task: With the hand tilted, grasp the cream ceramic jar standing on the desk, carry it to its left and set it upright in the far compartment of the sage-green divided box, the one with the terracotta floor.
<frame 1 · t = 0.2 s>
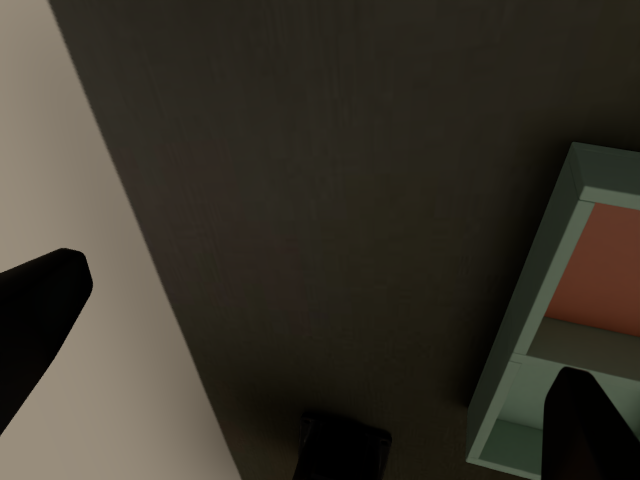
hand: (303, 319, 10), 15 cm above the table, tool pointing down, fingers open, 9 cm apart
divided box: (607, 324, 26), on the table
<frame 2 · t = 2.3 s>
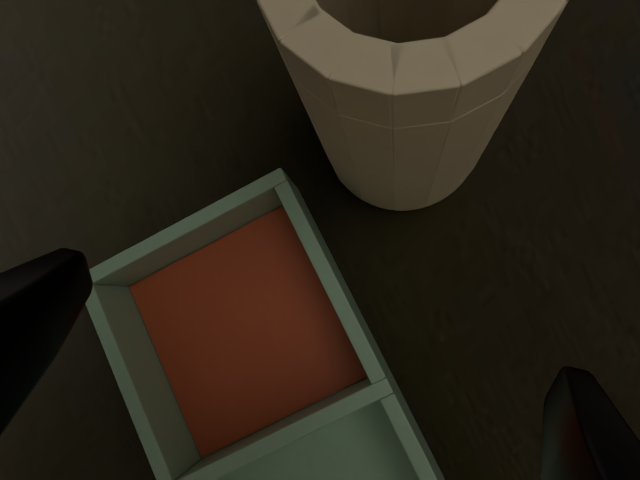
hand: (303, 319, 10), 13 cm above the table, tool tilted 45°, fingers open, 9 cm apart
divided box: (293, 420, 23), on the table
jar: (402, 136, 23), on the table
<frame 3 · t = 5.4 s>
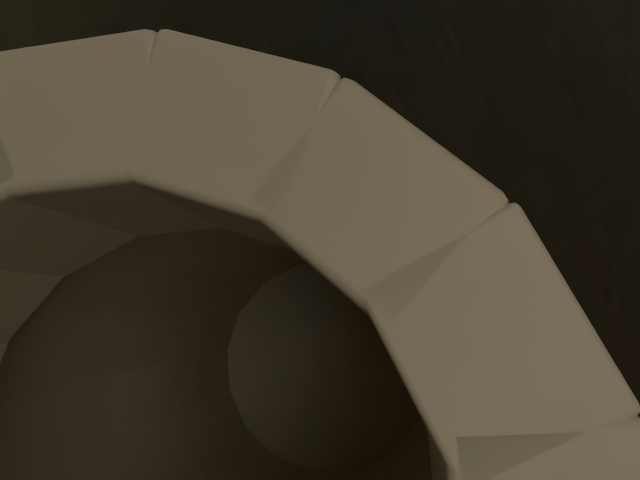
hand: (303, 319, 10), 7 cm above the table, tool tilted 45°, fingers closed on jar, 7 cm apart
jar: (329, 361, 16), on the table, touching gripper
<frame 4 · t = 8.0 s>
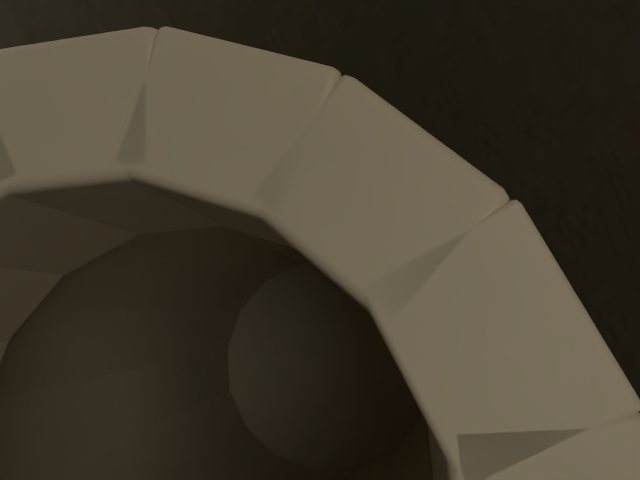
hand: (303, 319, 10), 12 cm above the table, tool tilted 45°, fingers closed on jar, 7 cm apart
jar: (329, 360, 16), point 6 cm above the table, touching gripper
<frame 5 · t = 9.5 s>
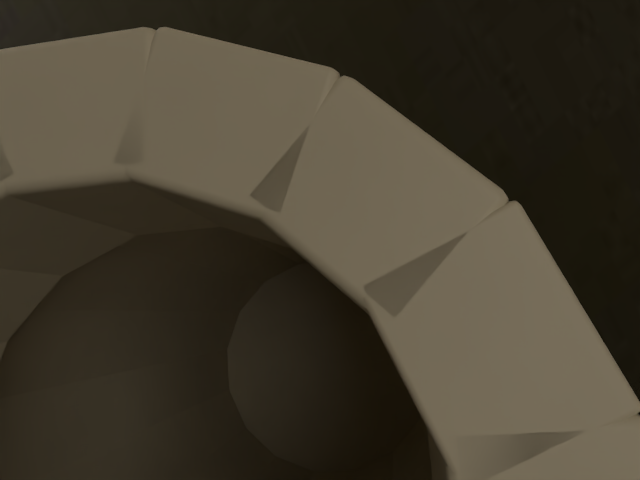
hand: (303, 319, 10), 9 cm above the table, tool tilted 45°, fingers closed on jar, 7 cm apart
jar: (329, 361, 16), point 2 cm above the table, touching gripper
when the fingers open (7 cm above the table, at t = 10.6 s): jar stays where it is, resting on divided box.
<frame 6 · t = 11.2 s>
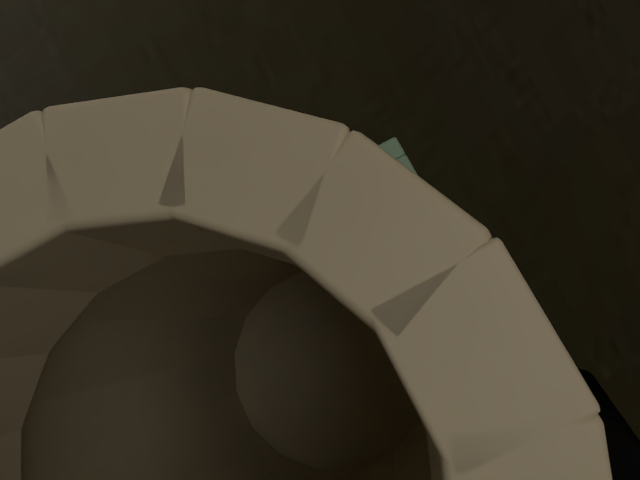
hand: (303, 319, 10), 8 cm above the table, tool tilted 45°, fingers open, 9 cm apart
jar: (332, 363, 16), point 1 cm above the table, touching divided box
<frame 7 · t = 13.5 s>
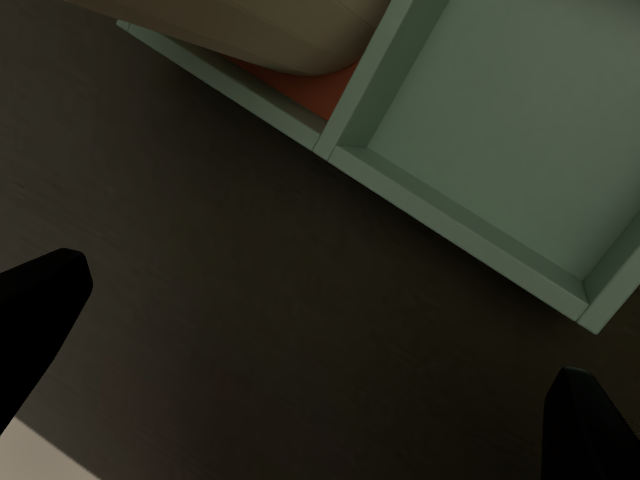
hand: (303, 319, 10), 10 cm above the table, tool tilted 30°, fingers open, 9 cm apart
divided box: (426, 35, 18), on the table
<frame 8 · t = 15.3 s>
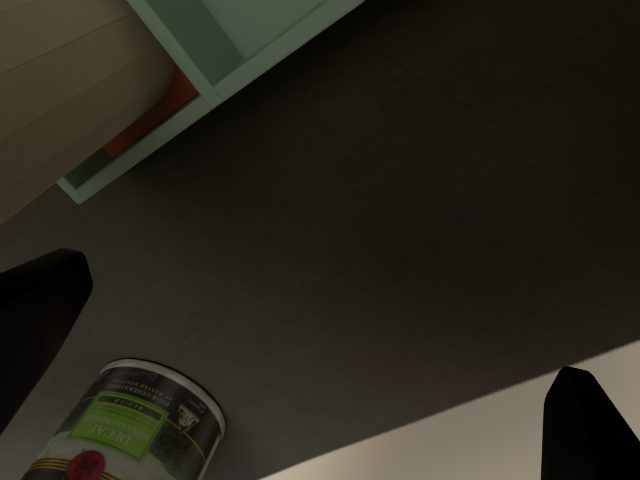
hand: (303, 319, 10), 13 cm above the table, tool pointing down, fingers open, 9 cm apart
coffee can: (163, 402, 39), on the table
jar: (97, 35, 21), point 1 cm above the table, touching divided box
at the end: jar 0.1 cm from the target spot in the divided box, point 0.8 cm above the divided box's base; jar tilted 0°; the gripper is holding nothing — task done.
